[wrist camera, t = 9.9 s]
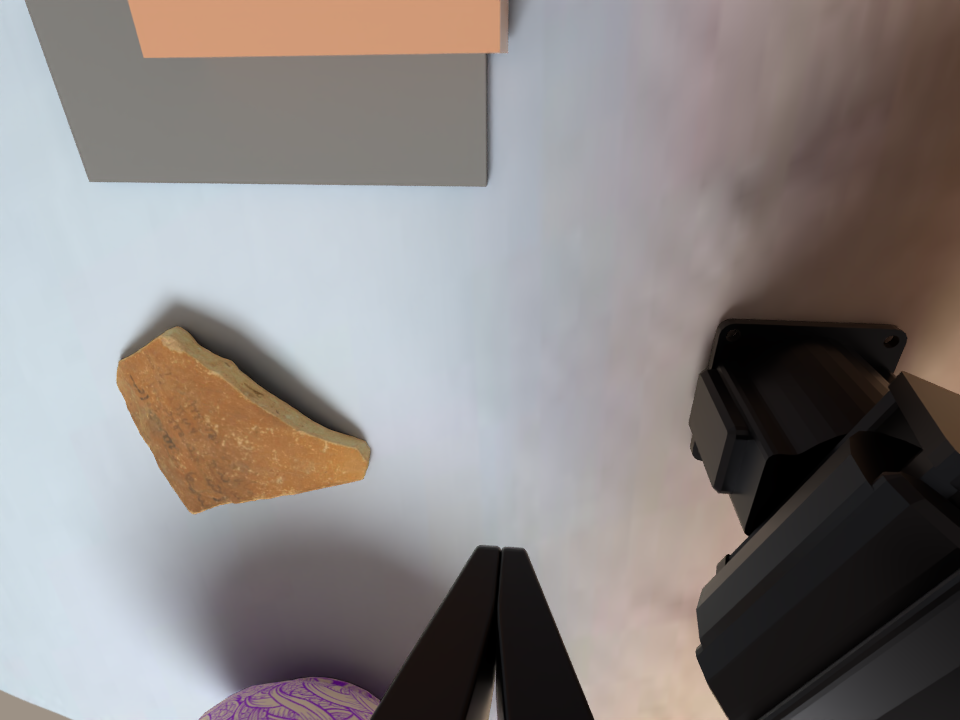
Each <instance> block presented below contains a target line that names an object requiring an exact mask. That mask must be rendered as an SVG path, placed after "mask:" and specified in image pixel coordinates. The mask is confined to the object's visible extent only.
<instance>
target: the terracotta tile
mask: <svg viewBox="0 0 960 720" xmlns="http://www.w3.org/2000/svg"><path fill="white" fill-rule="evenodd" d="M128 3H129V7H130V10H131V14H132V17H133V21H134V25H135V28H136V32H137V35H138V39H139V43H140V46H141V50H142V53H143V57H144V58H225V57H291V56H357V55H423V54H489V53H508V12H509V0H128Z"/></svg>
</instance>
